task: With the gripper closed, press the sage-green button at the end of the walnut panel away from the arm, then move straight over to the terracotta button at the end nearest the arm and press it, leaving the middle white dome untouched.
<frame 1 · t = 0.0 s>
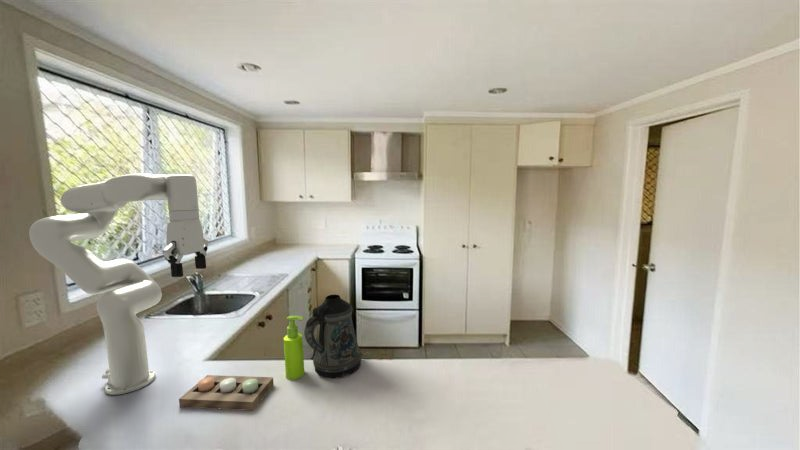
hand: (189, 272, 99), 37 cm above the worktop, tool pointing down, fingers open, 9 cm apart
button panel: (229, 395, 98), on the worktop
beer stein: (336, 368, 112), on the worktop
button sage: (250, 386, 97), point 3 cm above the worktop, slide at 0.0 cm
white dome: (228, 385, 97), point 3 cm above the worktop, slide at 0.0 cm
soap dispenser: (296, 375, 108), on the worktop
button terracotta: (206, 385, 98), point 3 cm above the worktop, slide at 0.0 cm
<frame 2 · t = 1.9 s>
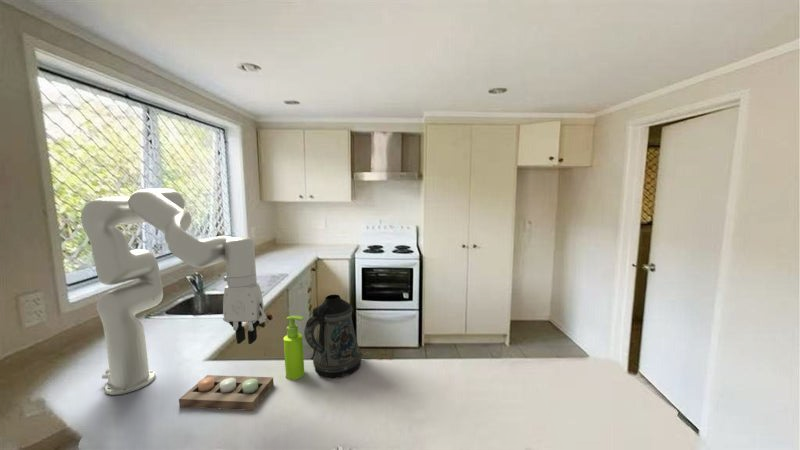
hand: (246, 341, 95), 17 cm above the worktop, tool pointing down, fingers closed
nothing on the worktop moved.
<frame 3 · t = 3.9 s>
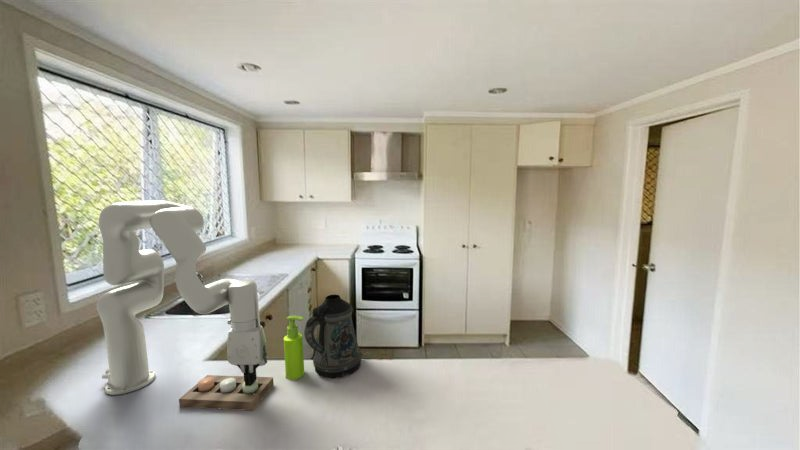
hand: (250, 383, 97), 4 cm above the worktop, tool pointing down, fingers closed
button sage: (250, 387, 97), point 3 cm above the worktop, slide at 0.1 cm, touching gripper
everything else where it was.
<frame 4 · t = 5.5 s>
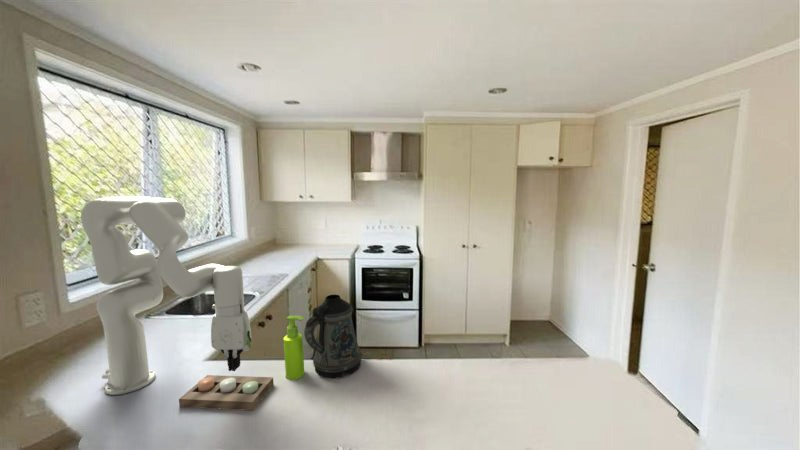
hand: (234, 368, 97), 9 cm above the worktop, tool pointing down, fingers closed
button sage: (250, 389, 97), point 2 cm above the worktop, slide at 0.8 cm
everything else where it was.
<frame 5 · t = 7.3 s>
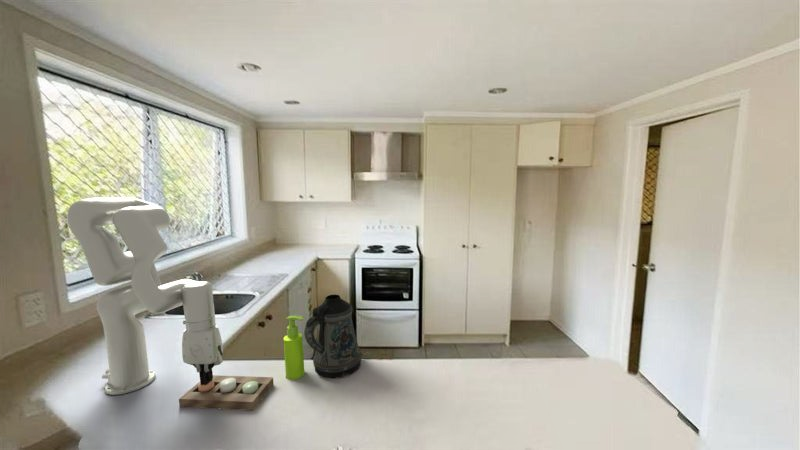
hand: (206, 382, 98), 4 cm above the worktop, tool pointing down, fingers closed
button terracotta: (206, 386, 98), point 3 cm above the worktop, slide at 0.4 cm, touching gripper
everything else where it was.
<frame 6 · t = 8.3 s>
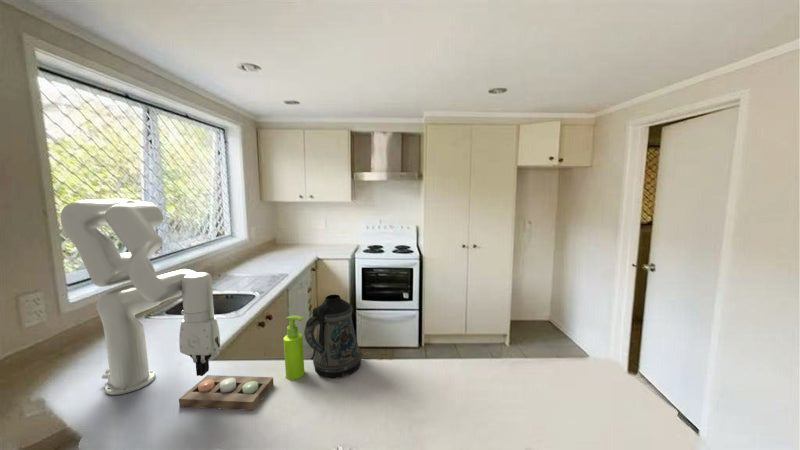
hand: (202, 373, 98), 7 cm above the worktop, tool pointing down, fingers closed
button terracotta: (206, 387, 98), point 2 cm above the worktop, slide at 0.8 cm
everything else where it was.
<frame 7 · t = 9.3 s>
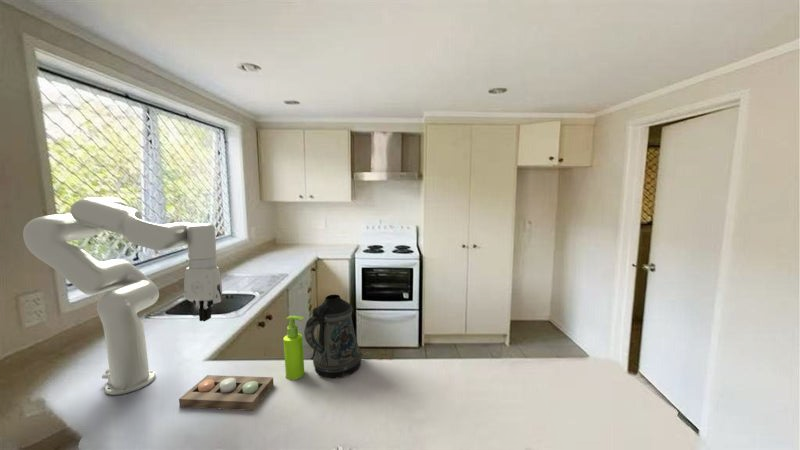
hand: (205, 319, 104), 21 cm above the worktop, tool pointing down, fingers closed
nothing on the worktop moved.
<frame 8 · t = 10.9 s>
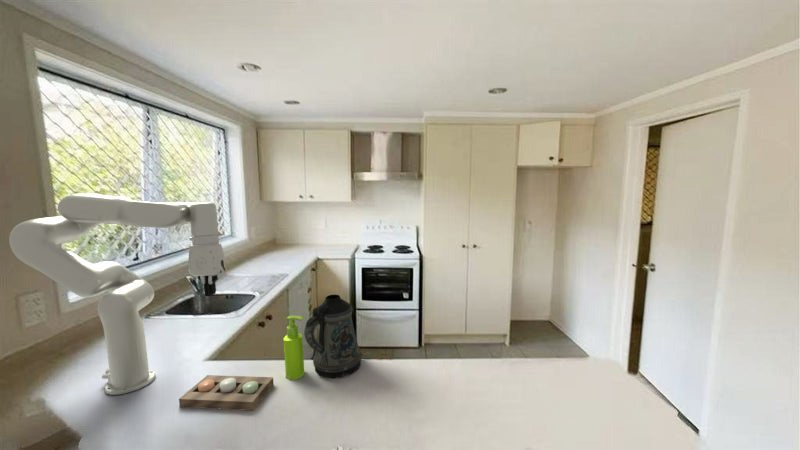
hand: (210, 294, 108), 27 cm above the worktop, tool pointing down, fingers closed
nothing on the worktop moved.
at the end: button sage slide at 0.8 cm; button terracotta slide at 0.8 cm; white dome slide at 0.0 cm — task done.
